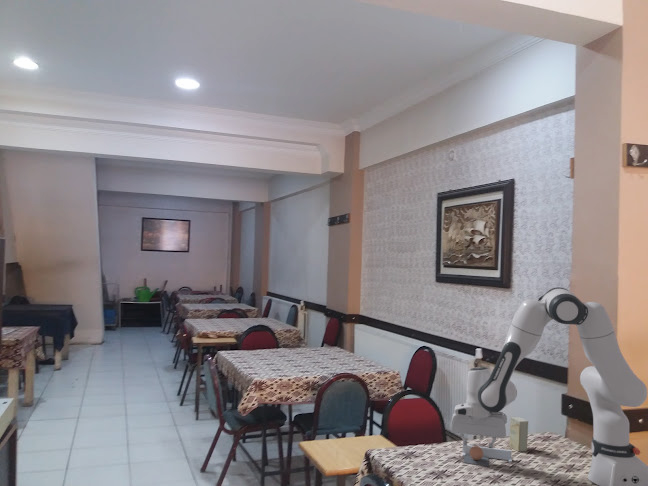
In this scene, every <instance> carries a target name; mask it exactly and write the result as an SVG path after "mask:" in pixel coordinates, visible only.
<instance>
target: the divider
mask: <svg viewBox="0 0 648 486" xmlns="http://www.w3.org/2000/svg"><path fill="white" fill-rule="evenodd" d="M473 446H474V445H471V444H470V445H469V444H467V446H466V445H463V444H462V457H464V456H465V454H467V455H470V449H471V448H472V447H473ZM477 446H478V445H477ZM478 447H480V448H481V449H482V451H483V457H488V459H489V458H490V459H495V460H496V459H497V460H504V461H508V462H509V463H512V462H513V460H512V450H511V449H503V448H495V447H493V449H492V448H489V446H488V447H486V446H478Z"/></svg>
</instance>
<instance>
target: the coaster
mask: <svg viewBox="0 0 648 486" xmlns="http://www.w3.org/2000/svg"><path fill="white" fill-rule="evenodd" d="M489 461H490V460H489V458H488V457H482V458H481V459H480V460H474V459H473V458H472V457H471V456H470V455H467V454H465V456H463V463H464V464H466V465H467V464H468V465H476V466H483V467H490V462H489Z"/></svg>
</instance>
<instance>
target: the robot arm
mask: <svg viewBox="0 0 648 486" xmlns="http://www.w3.org/2000/svg"><path fill="white" fill-rule="evenodd" d="M553 320H554V322H557V323H559V324H562V325H574V326H576V329H577V330H578V335H579V339H580V343H581V345H582V349H583V352H584V356H585V357H586V359H587V360H588V362H590V363H591V365H590V366H586V367H585V368H584V369H583V370H582V371H581V372H580V376H579V381H580V382H579V383H580V385H581V387H582V388H583V389H584V391H585V393H586V395H587V398H588V401H589V404H590V408H591V412H592V419H593V420H592V421H593V422H592V423H593V424H592V426H593V428H592V429H593V431H592V432H593V437H592V438H591V443H590V444H591V451H590V452H591V455H592V457H591V463H590V468H589V472H588V475H587V479H588V480H589V481H590V482H591V483H593V484H596V485H598V486H648V465H647V463H645V462H644V461H642V459H640V458H639V457H638V456H640V454H641V453H642V452H641V450H640V449H639V448H638V447H636V446H635V445H633V444H632V443H630V421H629V419H628V416H627V415H626V414H625V413H624V411H623V409H622V407H628V408H629V407H631V408H637V407H640V406H642V405H643V404H644V403H645V401H646V399H647V397H648V388H647V386H646V384H645V382H644V381H642V380H641V379H640V378H639V377H638V376H637V375H636V374H635V372H634V371H633V370H632V368H631V367H630V365H629V363H628V362H627V360H626V359H625V357H624V356H623V353H622V351H621V349H620V346H619V343H618V340H617V336H616V333H615V329H614V327H613V324H612V321H611V319H610V316H609V315H608V312H607V310H606V309H605V307H604V305H602V303H600V302H595V301H587V302H582V301H581V300H580V299H579V297H577V296H576V295H575V293H573V292H572V291H570V289H569V290H568V288H565V287H553V288H550V289H548V290H547V291H546V292H545V293H544V294H543V295H541V296H540V297H539V298H538V300H537V299H534V298H533V299H532V298H527V299H525V300H523V301H522V302H521V304H520V305H519V306H518V308H517V310H516V312H515V314H514V315H513V318H512V320H511V322H510V326H509V328H508V331H507V334H506V337H505V340H504V343H503V346H502V348H501V351H500V354H499V356H498V358H497V361H496V363H495V365H494V368H493V369H492V371H491V369H490V368H489V367H486V366H476V367H472V368H471V369H469V370H468V372H467V377H466V393H467V396H466V401H465V402H464V403H459V404H457V405H455V407H454V409H453V410H454V412H453V414H452V417H451V421H450V422H451V423H450V431H451V432H452V433H454V434H460V435H459V436H460V438H461V440H462V446H463V445H466V446H467V445H468V440H467V439H465V437H464V436H465V435H473V436H483V437H488V438H489V437H490V438H491V442H488V448H492V449H493V448H494V444H495V442H496V441H497V438H500V439H504V438H505V437H506V436H507V430H506V429H507V428H506V424H507V422H508V417H507V415H506V414H505V413H503V411H502V410H503V409H504V408H505V407H507V406H508V405H510V404H512V403H513V402H514V401H515V400H516V398H517V395H518V390H517V387H516V385H515V384H514V383H513V382H512V381H511V378H512V377H513V373H514V371H515V369H516V367H517V366H518V365H519V364H520V362H521V361H522V360H523V359H524V358H526V357H527V356H529V355H530V354H531V353H533V352H534V350H535V349H536V347H537V346H538V343H540V341H541V337H542V336H543V332H544V330H545V327H546V326H547V325H548V323H550V322H551V321H553Z"/></svg>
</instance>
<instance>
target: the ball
mask: <svg viewBox="0 0 648 486" xmlns="http://www.w3.org/2000/svg"><path fill="white" fill-rule="evenodd" d="M472 446H473V447H472V448H471V449H470V456H471V457H472V458H473V459H474V460H480V459H481V458H482V457H483V451H482V449H481V448H480V447H481V446H480V447H478V445H472Z"/></svg>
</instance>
